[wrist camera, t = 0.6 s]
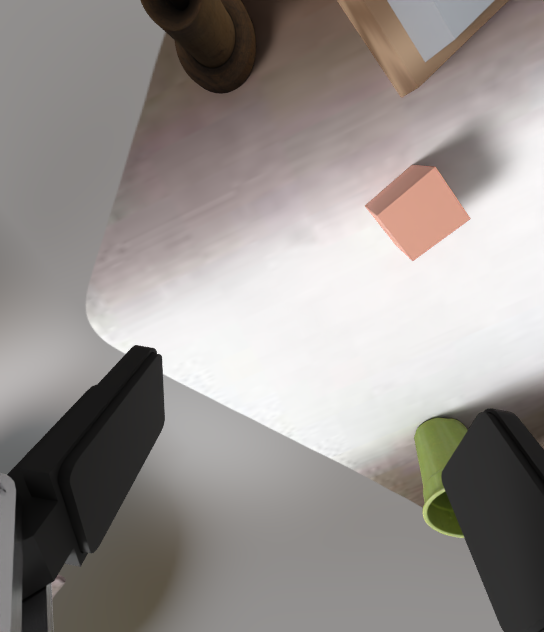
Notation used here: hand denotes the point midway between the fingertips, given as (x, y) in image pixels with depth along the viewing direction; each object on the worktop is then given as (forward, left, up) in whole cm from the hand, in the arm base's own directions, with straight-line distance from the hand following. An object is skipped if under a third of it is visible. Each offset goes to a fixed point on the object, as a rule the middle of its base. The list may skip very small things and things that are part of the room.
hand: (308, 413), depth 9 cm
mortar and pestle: (+17, -5, -27) cm, 32 cm away
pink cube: (-5, -9, -27) cm, 29 cm away
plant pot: (-36, +5, -27) cm, 46 cm away
